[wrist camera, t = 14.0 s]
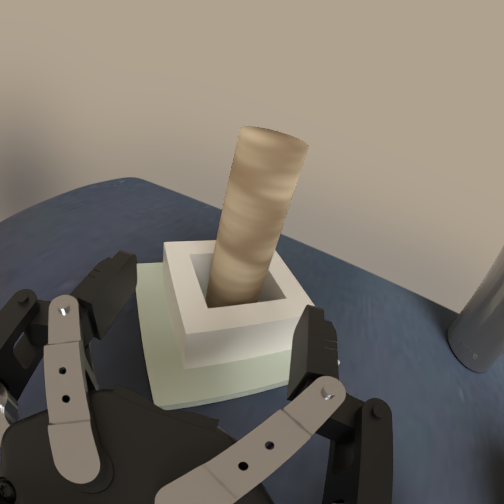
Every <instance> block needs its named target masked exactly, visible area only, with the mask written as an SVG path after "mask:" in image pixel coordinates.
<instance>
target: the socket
mask: <svg viewBox="0 0 504 504" xmlns="http://www.w3.org/2000/svg"><path fill="white" fill-rule="evenodd" d="M215 244H216V240H209V241H181V242H164V249H163V262H160V263H141V264H137V286H136V296H137V306H138V314H139V322H140V329H141V336H142V343H143V349H144V355H145V361H146V367H147V372H148V378H149V383H150V387H151V392H152V397H153V401H154V404H155V405H157V406H159V407H160V408H162V409H164V410H173V409H180V408H187V407H193V406H199V405H204V404H209V403H215V402H220V401H224V400H229V399H234V398H238V397H242V396H247V395H251V394H255V393H259V392H263V391H266V390H270V389H274V388H277V387H281V386H284V385H288V382H289V372H290V362H291V351H292V339H293V334H294V331H295V328H296V326H297V323H298V321H299V319H300V317H301V315H302V313H303V311H304V309H305V307H306V305H307V304H308V305H312V306H315V305H314V304H313V303H312V301H311V300H310V298H309V297H308V295H307V294H306V293H305V291H304V290H303V288H302V287H301V286H300V284H299V283H298V281H297V280H296V278H295V277H294V276H293V274H292V273H291V271H290V270H289V269H288V267H287V266H286V264H285V263H284V262H283V260H282V259H281V257H280V256H279V255H278V253H277V252H276V250H275V251H274V254H273V257H272V260H271V263H270V266H269V269H268V272H267V275H266V278H265V281H264V284H263V286H262V289H261V292H260V295H259V298H258V301H257V303H250V304H242V305H234V306H225V307H217V308H207V305H206V302H205V299H206V293H207V287H208V282H209V276H210V271H211V265H212V260H213V255H214V249H215ZM339 364H340V361H339V360H338V365H339Z"/></svg>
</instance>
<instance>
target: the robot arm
mask: <svg viewBox="0 0 504 504" xmlns="http://www.w3.org/2000/svg"><path fill="white" fill-rule="evenodd" d="M136 286H137V259H136V255H135V254H132V253H129V252H125V251H122V250H120V251H119V252H118V253H117V254H116V255H115V256H114V257H113V258H107V259H105V260H103V261H101V262H99V263H98V264H97V266H96V267H95V268H94V269H93V270H92V271H91V272H90V273H89V274H88V276H86V277H85V278H84V280H83V281H82V282H81V283H80V284H79V285H78V286H77V287H76V288H75V290H74V291H73V292H72V293H71V294H70V295H62V296H58V297H56V298H55V299H54V300H53V301H52V302H50V301H43V300H37V297H36V295H35V293H34V292H33V291H32V290H30V289H23V290H20V291H18V292H17V293H15V294H14V295H13V296H12V298H11V299H10V300H9V301H8V302H7V304H6V305H5V306H4V307H3V308H2V310H1V311H0V447H1V468H0V504H274V502H273V500H272V499H271V497H270V495H269V494H268V492H267V491H266V489H265V487H264V486H263V484H262V481H263V480H264V479H265V478H267V477H268V476H269V475H270V474H272V473H273V472H274V471H275V470H276V469H277V468H279V467H280V466H281V465H282V464H283V463H284V462H285V461H286V460H288V459H289V458H290V457H291V456H292V455H293V454H294V453H295V452H296V451H297V450H298V449H300V448H301V447H302V446H303V445H304V444H305V443H306V442H307V441H308V440H309V439H310V438H311V437H312V435H313V434H314V433H317V434H319V435H321V436H323V437H326V438H328V439H330V450H329V459H328V467H327V474H326V482H325V488H324V495H323V501H322V504H391V501H392V482H393V431H392V413H391V409H390V407H389V406H388V404H387V403H386V402H384V401H383V400H381V399H378V398H372V399H369V400H367V401H366V402H363V401H361V400H359V399H357V398H354V397H352V396H350V395H349V394H347V393H346V391H345V388H344V386H343V385H342V383H341V382H340V381H339V375H338V353H337V343H336V342H337V336H336V330H335V328H334V326H333V324H332V322H329V321H325V320H324V309H323V308H320V307H316V306H312V305H308V304H307V305H306V307H305V309H304V311H303V313H302V315H301V317H300V319H299V321H298V323H297V326H296V328H295V331H294V334H293V339H292V351H291V362H290V372H289V382H288V392H287V400H290V401H292V402H291V403H289V404H288V405H287V406H286V407H285V408H283V409H280V410H278V411H277V412H276V413H274V414H273V415H272V416H271V417H269V418H268V419H267V420H266V421H264V422H263V423H262V424H261V425H259V426H258V427H257V428H255V429H254V430H253V431H251V432H250V433H249V434H247V435H246V436H245V437H243V438H242V439H241V440H239V441H238V442H237V441H236V439H235V438H234V437H233V436H231V435H230V434H229V433H228V432H226V431H225V430H223V429H222V428H220V427H218V426H217V425H218V422H219V420H217V419H213V418H209V417H206V416H202V415H199V414H196V413H192V412H181V411H171V410H164V409H162V408H160V407H159V406H157V405H155V404H154V403H152V402H151V401H150V400H148V399H147V398H145V397H144V396H142V395H141V394H139V393H137V392H134V391H132V390H129V389H127V388H125V387H122V386H120V385H118V384H117V385H116V387H115V389H114V390H111V389H99V386H98V383H97V380H96V376H95V370H94V364H93V358H92V351H91V344H90V340H91V339H92V337H95V338H97V339H99V340H101V339H102V338H103V336H104V335H105V333H106V332H107V330H108V329H109V327H110V326H111V324H112V323H113V321H114V320H115V318H116V317H117V315H118V314H119V313H120V311H121V310H122V308H123V307H124V305H125V304H126V302H127V301H128V300H129V298H130V297H131V295H132V294H133V293H134V291H135V289H136ZM23 331H24V335H23V336H22V338H21V339H20V340H19V342H18V343H17V345H16V346H15V348H14V349H13V347H14V344H15V342H16V341H17V340H18V338H19V337H20V335H21V334H22V332H23ZM448 341H449V344H450V346H451V348H452V350H453V352H454V354H455V355H456V357H457V358H458V359H459V360H460V361H461V362H462V363H463V364H464V365H465V366H466V367H467V368H469V369H470V370H472V371H475V372H479V373H482V372H485V371H487V370H488V369H489V368H490V367H491V366H492V364H493V363H494V362H495V361H496V360H497V359H498V358H499V357H500V356H501V355H502V354H503V353H504V246H503V248H502V250H501V251H500V253H499V255H498V257H497V258H496V260H495V262H494V264H493V265H492V267H491V269H490V270H489V272H488V273H487V275H486V277H485V278H484V280H483V281H482V283H481V285H480V286H479V287H478V289H477V290H476V292H475V293H474V295H473V296H472V298H471V299H470V300H469V302H468V303H467V305H466V306H465V307H464V309H463V310H462V311H461V313H460V314H459V315H458V317H457V318H456V319H455V321H454V322H453V323H452V325H451V326H450V327H449V329H448ZM43 356H44V372H45V387H46V398H47V407H48V409H47V410H44V411H42V412H39V413H37V414H34V415H32V416H29V417H27V418H24V419H21V420H19V421H17V420H18V419H19V414H18V403H17V401H18V399H19V397H20V395H21V393H22V392H23V390H24V388H25V386H26V384H27V383H28V381H29V379H30V377H31V376H32V374H33V372H34V371H35V369H36V367H37V366H38V364H39V362H40V361H41V359H42V357H43Z"/></svg>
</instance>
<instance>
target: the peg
mask: <svg viewBox="0 0 504 504" xmlns="http://www.w3.org/2000/svg"><path fill="white" fill-rule="evenodd" d="M307 150H308V144H306V143H305V142H304V141H302V140H300V139H298V138H295V137H293V136H290V135H287V134H284V133H281V132H278V131H274V130H270V129H265V128H259V127H251V126H250V127H249V126H245V127H241V128H240V132H239V136H238V141H237V146H236V150H235V154H234V158H233V163H232V167H231V172H230V176H229V181H228V186H227V190H226V195H225V200H224V204H223V209H222V214H221V219H220V224H219V229H218V234H217V239H216V244H215V249H214V255H213V260H212V265H211V271H210V276H209V282H208V287H207V293H206V299H205V302H206V305H207V308H217V307H225V306H234V305H242V304H250V303H257V301H258V298H259V295H260V292H261V289H262V286H263V284H264V281H265V278H266V275H267V272H268V269H269V266H270V263H271V260H272V257H273V254H274V251H275V248H276V245H277V242H278V239H279V236H280V233H281V230H282V227H283V224H284V221H285V218H286V215H287V212H288V209H289V206H290V202H291V200H292V197H293V194H294V191H295V187H296V184H297V181H298V178H299V175H300V172H301V169H302V166H303V162H304V159H305V156H306V153H307Z"/></svg>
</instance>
